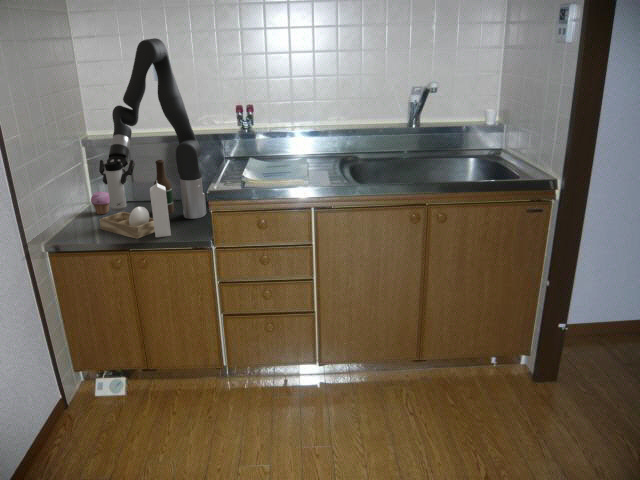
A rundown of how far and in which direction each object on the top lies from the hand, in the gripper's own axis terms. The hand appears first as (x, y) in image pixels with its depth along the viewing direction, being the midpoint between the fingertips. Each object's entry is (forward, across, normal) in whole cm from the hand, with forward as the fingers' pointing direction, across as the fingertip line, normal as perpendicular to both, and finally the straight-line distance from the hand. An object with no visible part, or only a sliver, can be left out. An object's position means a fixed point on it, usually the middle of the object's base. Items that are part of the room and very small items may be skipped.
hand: (113, 183), depth 220 cm
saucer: (+16, +10, +10) cm, 21 cm away
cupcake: (-1, -15, +30) cm, 33 cm away
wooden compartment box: (+15, +5, +13) cm, 20 cm away
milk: (+19, +20, +9) cm, 29 cm away
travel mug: (+7, 0, +9) cm, 12 cm away
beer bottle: (-1, +13, +29) cm, 32 cm away
